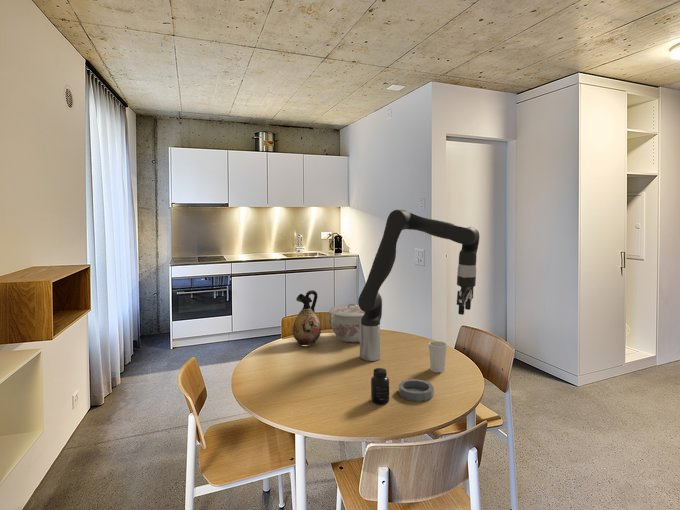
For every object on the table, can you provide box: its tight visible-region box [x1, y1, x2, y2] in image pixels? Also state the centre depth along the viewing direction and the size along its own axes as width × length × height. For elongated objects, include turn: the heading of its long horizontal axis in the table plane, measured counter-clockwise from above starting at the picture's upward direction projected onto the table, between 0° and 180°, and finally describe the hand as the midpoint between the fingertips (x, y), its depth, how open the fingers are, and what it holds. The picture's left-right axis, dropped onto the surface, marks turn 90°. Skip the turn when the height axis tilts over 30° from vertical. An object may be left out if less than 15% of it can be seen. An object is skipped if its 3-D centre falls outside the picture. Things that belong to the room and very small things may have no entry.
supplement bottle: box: [370, 367, 390, 406], centre depth 147 cm, size 7×7×12 cm
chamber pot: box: [328, 303, 365, 343], centre depth 224 cm, size 28×28×21 cm
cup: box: [428, 340, 448, 373], centre depth 177 cm, size 8×8×12 cm
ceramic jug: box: [292, 289, 322, 346], centre depth 215 cm, size 17×15×30 cm
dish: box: [398, 378, 435, 402], centre depth 153 cm, size 13×13×3 cm
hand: (464, 311), depth 168 cm, fingers open, 8 cm apart
